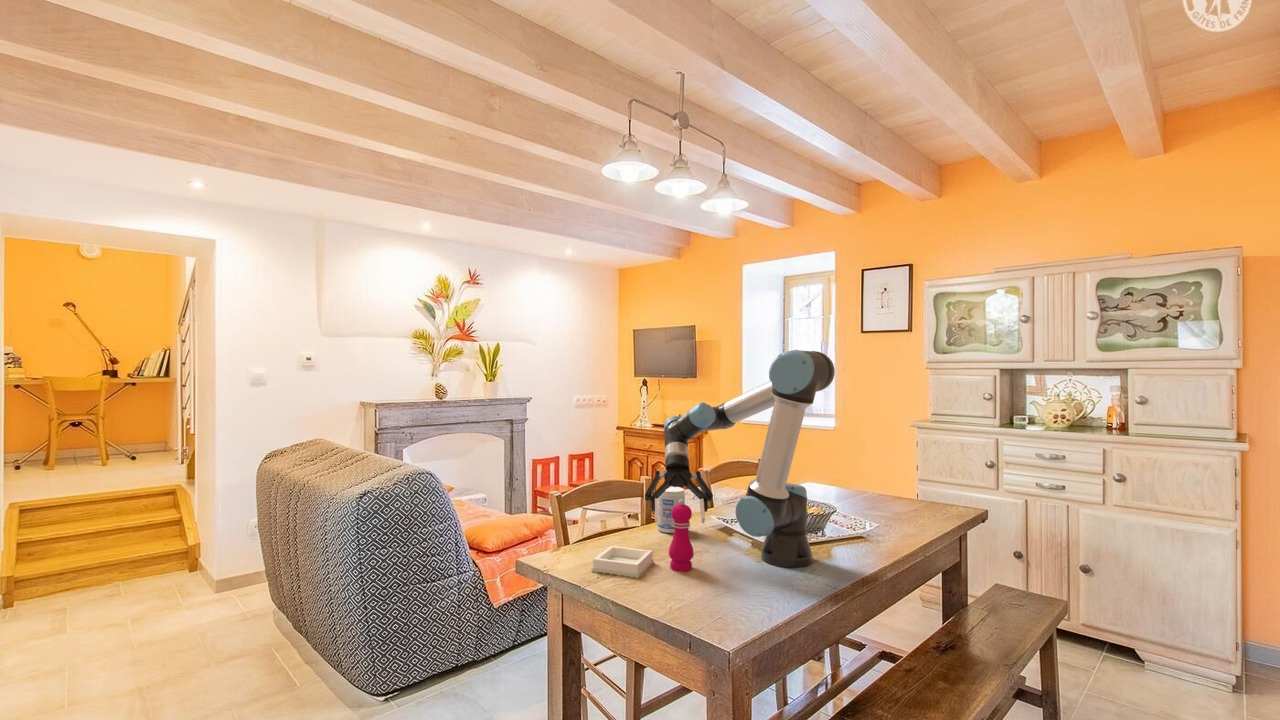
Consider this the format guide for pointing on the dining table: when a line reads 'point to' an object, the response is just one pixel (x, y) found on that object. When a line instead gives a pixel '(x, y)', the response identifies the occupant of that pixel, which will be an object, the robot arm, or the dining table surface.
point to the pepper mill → (681, 538)
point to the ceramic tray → (623, 561)
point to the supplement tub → (668, 508)
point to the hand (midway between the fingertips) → (679, 520)
